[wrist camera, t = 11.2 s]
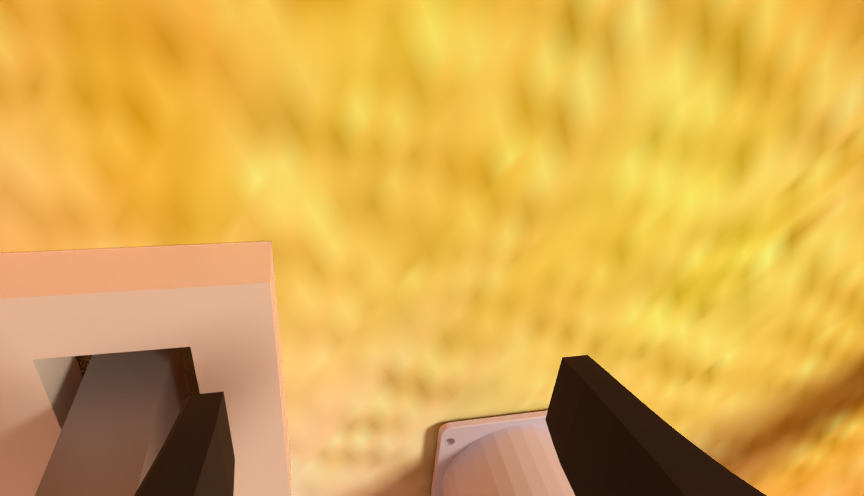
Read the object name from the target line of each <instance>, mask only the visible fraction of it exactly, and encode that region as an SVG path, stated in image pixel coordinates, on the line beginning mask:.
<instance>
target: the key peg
mask: <svg viewBox="0 0 864 496" xmlns="http://www.w3.org/2000/svg"><path fill="white" fill-rule="evenodd" d="M189 396H190V393H189V388H188V383H187V379H186V374H185V369H184V365H183V360H182V356H181V351H180V348H168V349H156V350H144V351H131V352H119V353H107V354H95V355H92V357H91V359H90V362H89V364H88V367H87V369H86V371H85V374H84V376H83V379H82V381H81V384H80V386H79V389H78V391H77V393H76V396H75V398H74V401H73V403H72V406H71V408H70V411H69V413H68V415H67V418H66V420H65V423H64V425H63V428H62V430H61V433H60V435H59V438H58V440H57V442H56V445H55V447H54V450H53V452H52V455H51V457H50V460H49V462H48V464H47V467H46V469H45V472H44V474H43V477H42V479H41V482H40V484H39V486H38V489H37V491H36V494H35V496H134V495H135V493H136V491H137V489H138V488H139V486H140V484H141V483H142V481H143V479H144V477H145V476H146V474H147V472H148V471H149V469H150V467H151V466H152V464H153V462H154V460H155V459H156V457H157V455H158V453H159V451H160V449H161V448H162V446H163V444H164V442H165V440H166V438H167V436H168V434H169V432H170V431H171V429H172V427H173V425H174V423H175V420H176V418H177V416H178V414H179V412H180V410H181V408H182V405H183V403H184V401H185V399H186V398H187V397H189Z"/></svg>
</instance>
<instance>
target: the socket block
mask: <svg viewBox="0 0 864 496" xmlns="http://www.w3.org/2000/svg"><path fill="white" fill-rule="evenodd" d="M180 347H191V352H192V357H193V362H194V367H195V372H196V377H197V382H198V387H199V392H200V394H203V393H213V392H223V391H224V397H225V403H226V409H227V415H228V421H229V427H230V432H231V438H232V444H233V450H234V456H235V471H234V494H233V496H291V457H290V446H289V434H288V423H287V411H286V400H285V389H284V377H283V366H282V354H281V343H280V331H279V320H278V309H277V297H276V286H275V274H274V263H273V252H272V241H263V242H240V243H218V244H195V245H173V246H150V247H128V248H106V249H83V250H61V251H38V252H16V253H0V495H1V496H35V494H36V491H37V489H38V486H39V484H40V482H41V479H42V477H43V474H44V472H45V469H46V467H47V464H48V462H49V460H50V457H51V455H52V452H53V450H54V447H55V445H56V442H57V440H58V438H59V435H60V433H61V430H62V428H63V425H64V423H65V420H66V418H67V415H68V413H69V411H70V408H71V406H72V403H73V401H74V398H75V396H76V393H77V391H78V389H79V386H80V384H81V381H82V379H83V376H82V373H81V370H80V367H79V364H78V362H77V359H76V356H83V355H95V354H107V353H119V352H131V351H144V350H156V349H168V348H180Z"/></svg>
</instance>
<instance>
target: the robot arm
mask: <svg viewBox="0 0 864 496" xmlns="http://www.w3.org/2000/svg"><path fill="white" fill-rule="evenodd" d="M234 471H235V456H234V450H233V444H232V438H231V432H230V427H229V421H228V415H227V409H226V403H225V397H224V391H223V392H213V393H203V394H193V395H190V396H189V397H187V398H186V399H185V401H184V403H183V405H182V408H181V410H180V412H179V414H178V416H177V418H176V420H175V423H174V425H173V427H172V429H171V431H170V432H169V434H168V436H167V438H166V440H165V442H164V444H163V446H162V448H161V449H160V451H159V453H158V455H157V457H156V459H155V460H154V462H153V464H152V466H151V467H150V469H149V471H148V472H147V474H146V476H145V477H144V479H143V481H142V483H141V484H140V486H139V488H138V489H137V491H136V493H135V495H134V496H233V494H234ZM431 496H766V495H765V494H763V493H762V492H760V491H759V490H757V489H756V488H754V487H753V486H751V485H750V484H748V483H747V482H745V481H744V480H742V479H741V478H739V477H738V476H736V475H735V474H733V473H732V472H730V471H729V470H728V469H726V468H725V467H723V466H722V465H721V464H719V463H718V462H716V461H715V460H714V459H712V458H711V457H710V456H708V455H707V454H706V453H704V452H703V451H702V450H701V449H699V448H698V447H697V446H695V445H694V444H693V443H691V442H690V441H689V440H687V439H686V438H685V437H684V436H682V435H681V434H680V433H679V432H677V431H676V430H675V429H674V428H672V427H671V426H670V425H669V424H667V423H666V422H665V421H664V420H663V419H661V418H660V417H659V416H658V415H657V414H655V413H654V412H653V411H652V410H651V409H649V408H648V407H647V406H646V405H645V404H644V403H642V402H641V401H640V400H639V399H638V398H637V397H635V396H634V395H633V394H632V393H631V392H630V391H628V390H627V389H626V388H625V387H624V386H623V385H622V384H620V383H619V382H618V381H617V380H616V379H615V378H614V377H612V376H611V375H610V374H609V373H608V372H607V371H606V370H604V369H603V368H602V367H601V366H600V365H599V364H597V363H596V362H595V361H594V360H593V359H591V358H590V357H589V356H588V355H584V356H574V357H564V358H562V361H561V365H560V368H559V372H558V376H557V379H556V383H555V386H554V390H553V394H552V397H551V401H550V405H549V408H548V410H546V411H538V412H529V413H521V414H513V415H505V416H497V417H488V418H480V419H472V420H464V421H456V422H448V423H445V424H444V425H442V426H441V427H440V429H439V433H438V441H437V449H436V457H435V465H434V473H433V481H432V488H431Z"/></svg>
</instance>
